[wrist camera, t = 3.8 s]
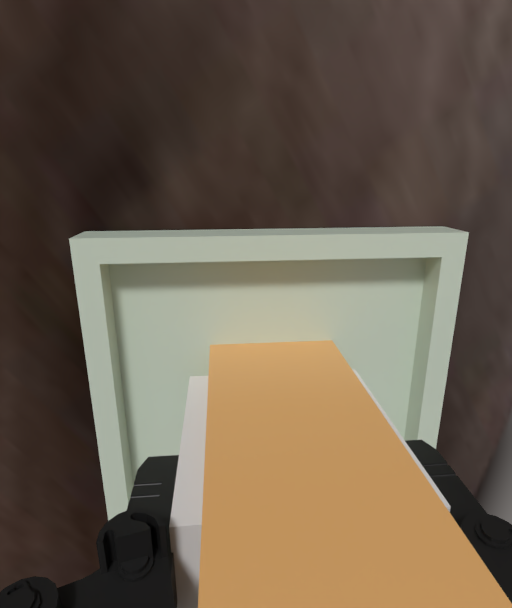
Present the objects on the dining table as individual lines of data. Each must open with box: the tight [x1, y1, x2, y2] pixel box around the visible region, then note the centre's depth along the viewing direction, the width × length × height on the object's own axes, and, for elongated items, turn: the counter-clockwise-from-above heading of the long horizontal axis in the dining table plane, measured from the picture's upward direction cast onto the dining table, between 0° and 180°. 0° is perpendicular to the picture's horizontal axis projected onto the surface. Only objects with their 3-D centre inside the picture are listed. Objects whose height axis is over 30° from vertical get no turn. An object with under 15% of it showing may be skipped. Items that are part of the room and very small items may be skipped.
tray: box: [69, 226, 469, 521], centre depth 16 cm, size 13×13×2 cm
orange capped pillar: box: [198, 340, 512, 608], centre depth 11 cm, size 4×4×11 cm
